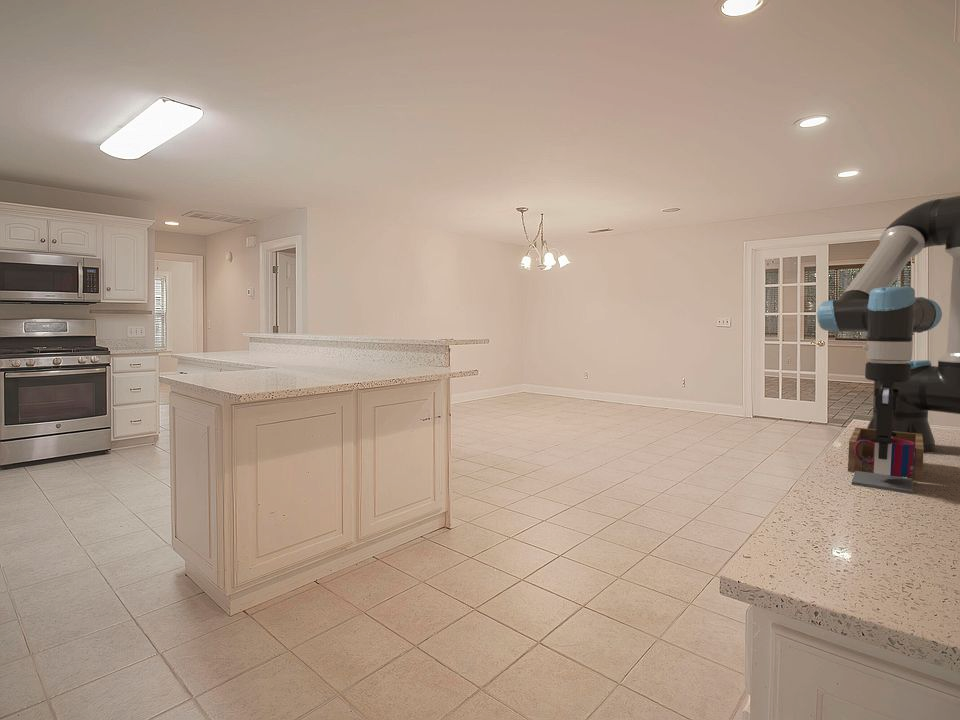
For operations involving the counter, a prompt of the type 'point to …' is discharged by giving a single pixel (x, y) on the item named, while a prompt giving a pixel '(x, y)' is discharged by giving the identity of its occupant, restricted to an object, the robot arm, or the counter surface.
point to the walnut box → (867, 449)
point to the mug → (896, 457)
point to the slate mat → (883, 482)
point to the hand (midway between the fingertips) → (882, 469)
